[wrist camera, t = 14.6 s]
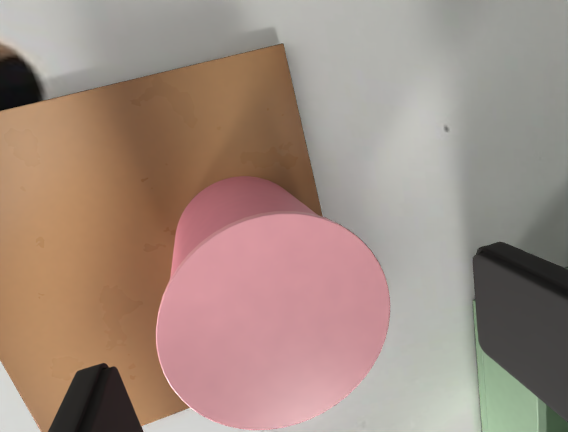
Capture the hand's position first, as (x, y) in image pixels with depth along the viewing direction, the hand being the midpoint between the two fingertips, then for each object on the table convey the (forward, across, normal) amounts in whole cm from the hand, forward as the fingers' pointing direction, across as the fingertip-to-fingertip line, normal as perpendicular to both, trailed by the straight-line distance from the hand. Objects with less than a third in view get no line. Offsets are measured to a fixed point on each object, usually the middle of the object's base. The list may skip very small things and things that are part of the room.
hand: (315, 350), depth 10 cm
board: (+10, +5, 0) cm, 11 cm away
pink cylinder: (+9, +1, 0) cm, 9 cm away
